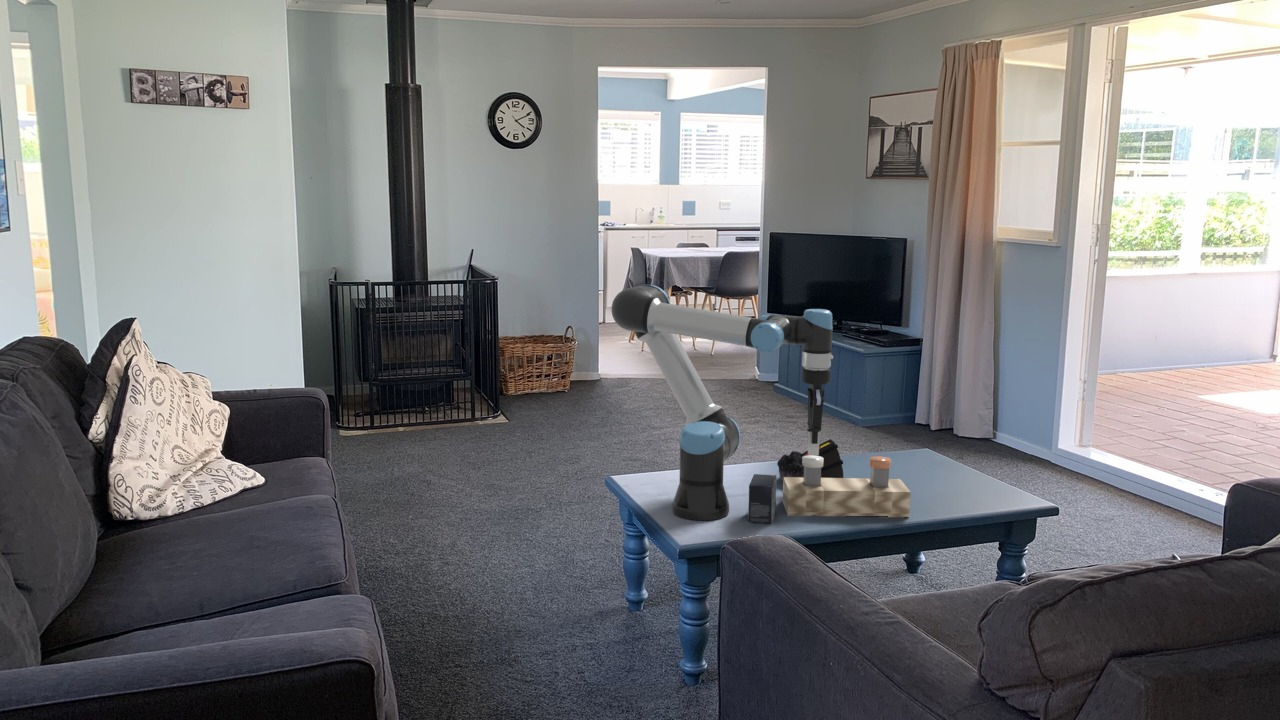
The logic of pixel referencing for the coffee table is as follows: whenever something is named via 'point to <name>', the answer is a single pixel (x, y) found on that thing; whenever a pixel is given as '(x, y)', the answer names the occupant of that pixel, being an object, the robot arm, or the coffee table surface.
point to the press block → (845, 498)
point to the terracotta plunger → (879, 471)
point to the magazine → (828, 460)
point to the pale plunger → (812, 470)
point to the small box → (762, 499)
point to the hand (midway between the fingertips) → (813, 454)
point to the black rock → (790, 466)
